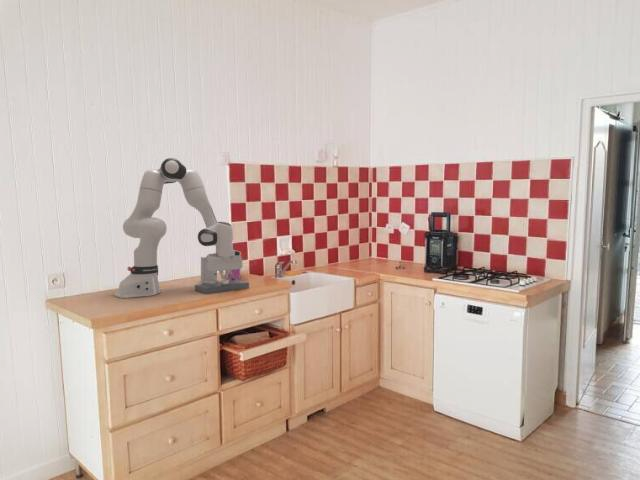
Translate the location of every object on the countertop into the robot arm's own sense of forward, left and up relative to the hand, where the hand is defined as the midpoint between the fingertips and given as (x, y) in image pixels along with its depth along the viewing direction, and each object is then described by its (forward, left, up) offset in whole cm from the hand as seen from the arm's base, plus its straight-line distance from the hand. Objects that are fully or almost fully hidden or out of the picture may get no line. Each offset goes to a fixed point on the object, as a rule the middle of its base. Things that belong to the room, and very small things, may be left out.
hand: (224, 278), depth 261 cm
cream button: (+1, +1, -3) cm, 3 cm away
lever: (+10, +8, -2) cm, 12 cm away
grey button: (-7, +1, -2) cm, 8 cm away
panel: (+1, +4, -6) cm, 7 cm away
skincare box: (+6, +28, -7) cm, 29 cm away
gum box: (+23, +30, -7) cm, 38 cm away
